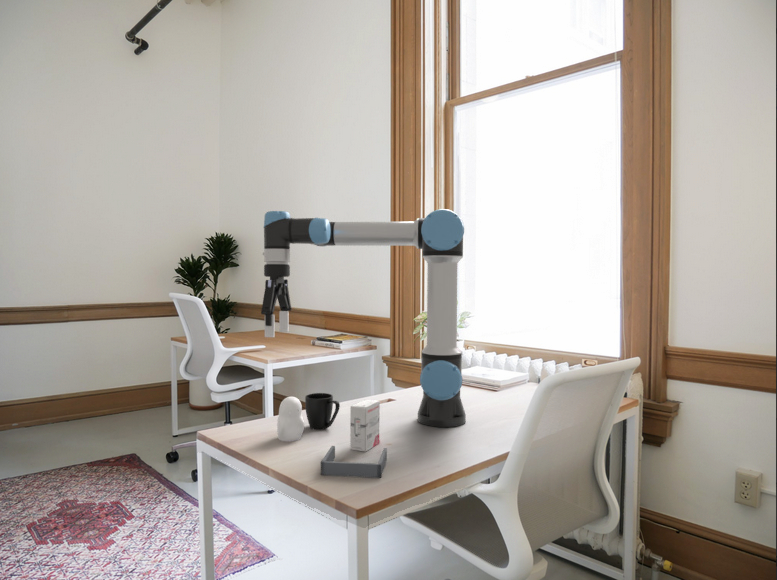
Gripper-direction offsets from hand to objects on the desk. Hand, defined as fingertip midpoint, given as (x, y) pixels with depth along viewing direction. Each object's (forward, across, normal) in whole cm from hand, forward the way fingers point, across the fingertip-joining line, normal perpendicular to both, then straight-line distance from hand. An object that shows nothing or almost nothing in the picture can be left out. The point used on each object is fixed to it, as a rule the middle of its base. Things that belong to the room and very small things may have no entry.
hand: (277, 334), depth 165 cm
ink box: (+28, +14, +29) cm, 43 cm away
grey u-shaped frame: (+28, +30, +29) cm, 51 cm away
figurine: (+28, +11, +7) cm, 31 cm away
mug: (+28, 0, +14) cm, 32 cm away
